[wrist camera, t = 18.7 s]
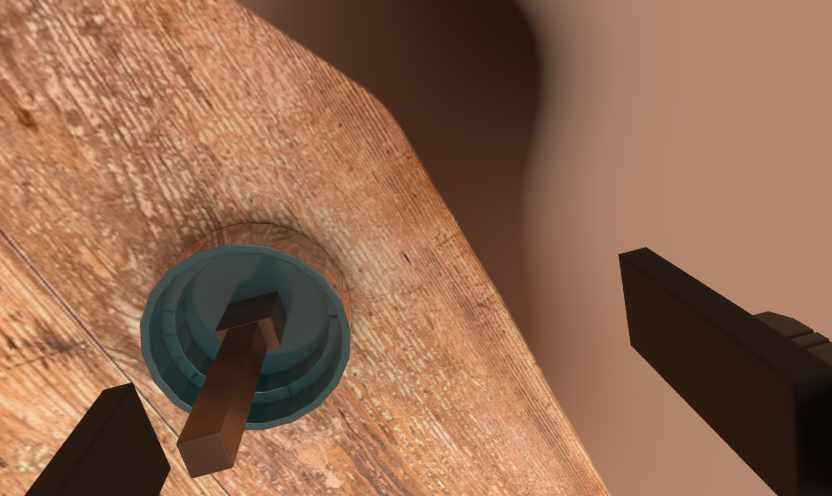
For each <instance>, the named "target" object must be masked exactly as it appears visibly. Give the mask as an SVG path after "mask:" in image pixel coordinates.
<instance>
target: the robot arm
mask: <svg viewBox="0 0 832 496" xmlns="http://www.w3.org/2000/svg"><path fill="white" fill-rule="evenodd" d="M619 263H620V270H621V277H622V284H623V291H624V299H625V306H626V314H627V321H628V328H629V336H630V343H631V346H632V347H633V348H634V349H635V350H636V351H637V352H638V353H639V354H640V355H641V356H642V357H643V358H644V359H645V360H646V361H647V362H648V363H649V364H650V365H651V366H652V367H653V368H654V369H655V370H656V371H657V372H658V373H659V375H661V377H663V379H664V380H665V381H666V382H667V383H668V384H669V385H670V386H671V387H672V388H673V389H674V390H675V391H676V392H677V393H678V394H679V395H680V396H681V397H682V398H683V399H684V400H685V401H686V402H687V403H688V404H689V405H690V406H691V407H692V408H693V409H694V410H695V411H696V412H697V413H698V414H699V416H700V417H701V418H702V419H703V420H705V422H706V423H707V424H708V425H710V427H711V428H712V429H713V430H714V431H715V432H716V433H717V434H718V435H719V436H720V437H721V438H722V439H723V440H724V441H725V442H726V443H727V444H728V445H729V446H730V447H731V448H732V449H733V450H734V451H735V452H736V453H737V454H738V455H739V456H740V457H741V459H742V460H743V461H744V462H745V463H746V464H747V465H748V466H749V467H750V468H751V469H752V470H753V471H754V472H755V473H756V474H757V475H758V476H759V477H760V478H761V479H762V480H763V481H764V482H765V483H766V484H767V485H768V486H769V487H770V488H771V489H772V490H773V491H774V492H775V493H776V494H777V495H778V496H832V342H830V341H829V339H828V338H826V337H824V336H823V335H821V334H819V333H818V332H817V333H814V332H813V330H812V329H810V328H809V327H807V326H806V325H804V324H802V323H801V322H799V321H797V320H795V319H793V318H790V317H786V316H783V315H779V314H776V313H772V312H769V311H767V312H764V313H760V314H756V315H751V314H750V313H748V312H747V311H745V310H744V309H742V308H740V307H739V306H737V305H736V304H734V303H732V302H731V301H730V300H728V299H726V298H725V297H723V296H722V295H720V294H719V293H717V292H715V291H714V290H712V289H711V288H709V287H708V286H706V285H704V284H703V283H701V282H700V281H698V280H697V279H695V278H694V277H692V276H690V275H689V274H687V273H686V272H684V271H683V270H681V269H680V268H678V267H676V266H675V265H673V264H672V263H670V262H668V261H667V260H665V259H664V258H662V257H661V256H659V255H658V254H656V253H654V252H653V251H651V250H650V249H648V248H647V247H645V248H641V249H637V250H633V251H630V252H626V253H622V254H619ZM170 469H171V467H170V465H169V463H168V461H167V458H166V456H165V454H164V452H163V449H162V447H161V445H160V443H159V440H158V438H157V436H156V434H155V432H154V429H153V427H152V425H151V423H150V420H149V418H148V416H147V414H146V411H145V409H144V407H143V405H142V403H141V400H140V398H139V396H138V394H137V391H136V389H135V387H134V385H133V382H132V383H128V384H124V385H121V386H117V387H113V388H109V389H105V390H103V391H102V393H101V394H100V395H99V397H98V398H97V399H96V401H95V402H94V403H93V405H92V406H91V407H90V409H89V410H88V411H87V413H86V414H85V415H84V417H83V418H82V419H81V421H80V422H79V423H78V425H77V426H76V427H75V429H74V430H73V431H72V433H71V434H70V435H69V437H68V438H67V439H66V441H65V442H64V443H63V445H62V446H61V447H60V449H59V450H58V451H57V453H56V454H55V455H54V457H53V458H52V459H51V461H50V462H49V463H48V465H47V466H46V468H45V469H44V470H43V472H42V473H41V474H40V476H39V477H38V478H37V480H36V481H35V482H34V484H33V485H32V486H31V488H30V489H29V490H28V492H27V493H26V494H25V496H159V494H160V491H161V489H162V487H163V485H164V482H165V480H166V478H167V476H168V473H169V471H170Z"/></svg>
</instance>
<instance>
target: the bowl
mask: <svg viewBox="0 0 832 496" xmlns="http://www.w3.org/2000/svg"><path fill="white" fill-rule="evenodd" d="M274 292H279V295H280V298H281V301H282V304H283V307H284V310H285V313H286V316H287V321H286V325H285V329H284V333H283V337H282V341H281V345H280V347H278V348H274V349H271V350H267V351H266V355H265V358H264V362H263V365H262V369H261V372H260V376H259V379H258V383H257V386H256V390H255V393H254V397H253V400H252V404H251V407H250V411H249V414H248V417H247V421H246V424H245V428H244V430H265V429H269V428H273V427H276V426H280V425H284V424H288V423H292V422H294V421H296V420H297V419H299V418H301V417H302V416H304V415H306V414H307V413H309V412H311V411H312V410H314V409H316V408H317V407H318V406H320V405H321V404H322V403H323V401H324V400H325V399H326V398H327V397H328V396H329V395H330V394H331V392H332V391H333V390H334V389H335V388H336V387H337V386H338V384H339V382H340V379H341V377H342V374H343V372H344V370H345V367H346V365H347V363H348V360H349V352H350V333H351V302H350V297H349V294H348V291H347V287H346V284H345V280H344V277H343V275H342V273H341V272H340V271H339V269H338V268H337V266H336V265H335V263H334V262H333V261H332V259H331V258H330V256H329V255H328V254H327V253H326V252H325V251H324V250H323V249H321V248H320V247H319V246H317V245H316V244H315V243H313V242H312V241H311V240H309V239H308V238H307V237H305V236H304V235H302V234H300V233H297V232H294V231H291V230H288V229H286V228H283V227H280V226H277V225H273V224H254V223H241V224H237V225H233V226H229V227H225V228H221V229H217V230H214V231H212V232H211V233H209V234H207V235H206V236H204V237H203V238H201V239H200V240H198V241H196V242H195V243H193V244H192V245H190V246H189V247H188V248H187V249H186V250H185V251H184V253H183V254H182V255H181V256H180V257H179V258H178V260H177V261H176V262H175V263H174V264H173V265H172V267H171V268H170V269H169V270H168V271H167V273H166V274H165V275H164V276H163V278H162V279H161V280H160V281H159V283H158V284H157V285H156V287H155V288H154V289H153V290H152V292H151V293H150V294H149V297H148V300H147V303H146V306H145V309H144V312H143V316H142V319H141V322H140V334H141V351H142V356H143V358H144V360H145V363H146V365H147V367H148V370H149V372H150V374H151V377H152V379H153V381H154V383H155V384H156V385H157V386H158V387H159V388H160V389H161V391H162V392H163V393H164V394H165V395H166V396H167V397H168V398H169V399H170V401H171V402H172V403H173V404H175V405H176V406H177V407H179V408H181V409H182V410H184V411H185V412H187V413H189V414H190V412H191V410H192V408H193V406H194V403H195V401H196V399H197V397H198V395H199V392H200V390H201V388H202V386H203V384H204V381H205V379H206V377H207V375H208V373H209V370H210V368H211V366H212V364H213V361H214V359H215V357H216V355H217V353H218V350H219V348H220V345H219V343H218V340H217V337H216V335H215V330H216V328H217V326H218V324H219V322H220V320H221V318H222V316H223V314H224V312H225V310H226V308H227V306H228V304H231V303H235V302H239V301H243V300H247V299H251V298H254V297H258V296H262V295H266V294H270V293H274Z"/></svg>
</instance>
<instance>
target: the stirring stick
mask: <svg viewBox="0 0 832 496" xmlns="http://www.w3.org/2000/svg"><path fill="white" fill-rule="evenodd" d="M286 321H287V316H286V313H285V310H284V307H283V304H282V301H281V298H280V295H279V292H274V293H270V294H266V295H262V296H258V297H254V298H251V299H247V300H243V301H239V302H235V303H231V304H228V306H227V308H226V310H225V312H224V314H223V316H222V318H221V320H220V322H219V324H218V326H217V328H216V330H215V335H216V337H217V340H218V343H219V345H220V348H219V350H218V353H217V355H216V357H215V359H214V361H213V364H212V366H211V368H210V370H209V373H208V375H207V377H206V379H205V381H204V384H203V386H202V388H201V390H200V392H199V395H198V397H197V399H196V401H195V403H194V406H193V408H192V410H191V412H190V414H189V417H188V419H187V421H186V423H185V425H184V428H183V430H182V432H181V434H180V437H179V439H178V441H177V447H178V449H179V451H180V454H181V456H182V458H183V460H184V463H185V465H186V467H187V470H188V472H189V474H190V477H191V478H196V477H200V476H203V475H207V474H211V473H215V472H218V471H222V470H226V469H230V468H232V467H233V466H234V463H235V459H236V456H237V452H238V449H239V445H240V442H241V438H242V435H243V431H244V428H245V424H246V421H247V417H248V414H249V411H250V407H251V404H252V400H253V397H254V393H255V390H256V386H257V383H258V379H259V376H260V372H261V369H262V365H263V362H264V358H265V355H266V351H267V350H271V349H274V348H278V347H280V345H281V341H282V337H283V333H284V329H285V325H286Z"/></svg>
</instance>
